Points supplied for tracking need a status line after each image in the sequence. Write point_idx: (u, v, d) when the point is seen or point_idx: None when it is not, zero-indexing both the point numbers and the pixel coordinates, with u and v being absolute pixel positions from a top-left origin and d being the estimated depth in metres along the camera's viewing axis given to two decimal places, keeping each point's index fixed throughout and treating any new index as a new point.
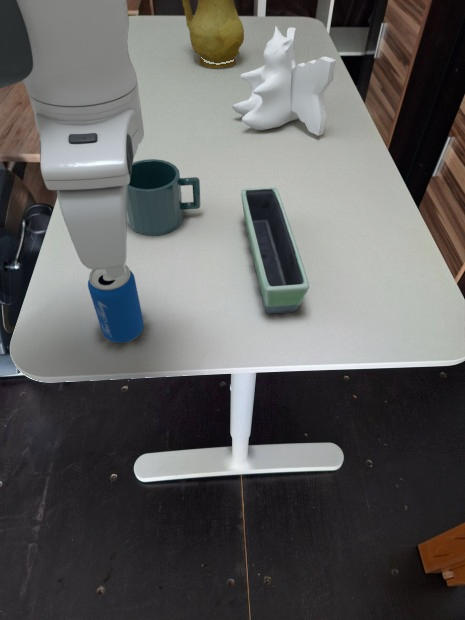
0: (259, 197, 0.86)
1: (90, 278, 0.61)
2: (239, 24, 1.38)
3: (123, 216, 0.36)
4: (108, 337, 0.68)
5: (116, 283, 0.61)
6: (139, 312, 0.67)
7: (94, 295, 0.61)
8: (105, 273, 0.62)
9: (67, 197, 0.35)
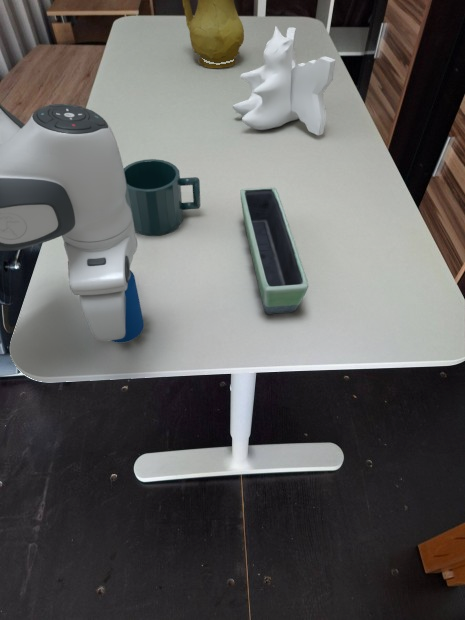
0: (258, 197, 0.86)
1: None
2: (239, 24, 1.38)
3: (123, 309, 0.54)
4: None
5: None
6: (139, 312, 0.67)
7: None
8: None
9: (86, 299, 0.53)
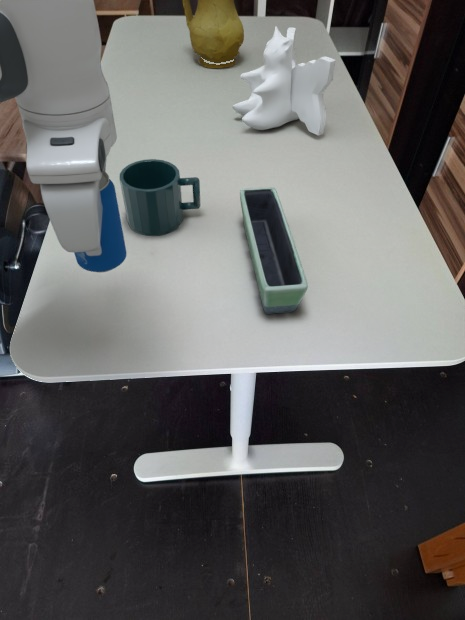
0: (258, 197, 0.86)
1: None
2: (239, 24, 1.38)
3: (96, 206, 0.43)
4: (83, 264, 0.56)
5: None
6: (120, 234, 0.56)
7: None
8: None
9: (48, 190, 0.42)
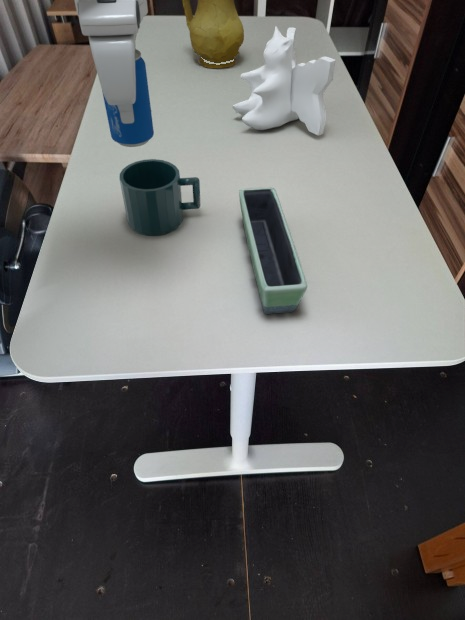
0: (257, 197, 0.86)
1: None
2: (239, 24, 1.38)
3: (133, 57, 0.52)
4: (118, 138, 0.66)
5: None
6: (149, 110, 0.65)
7: None
8: None
9: (96, 41, 0.51)
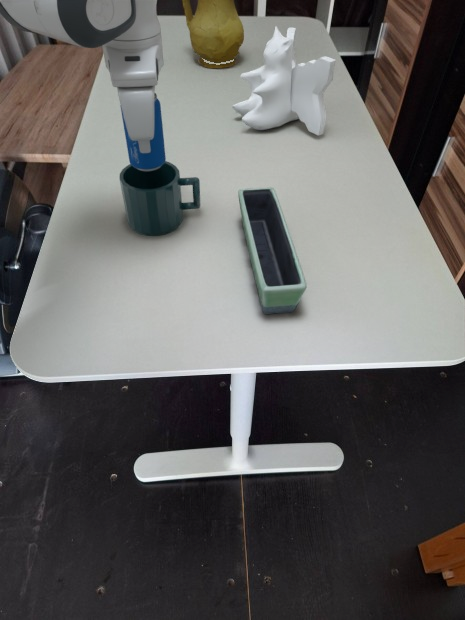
0: (256, 197, 0.86)
1: None
2: (239, 24, 1.38)
3: (153, 104, 0.64)
4: (135, 164, 0.78)
5: None
6: (163, 141, 0.77)
7: None
8: None
9: (123, 91, 0.63)
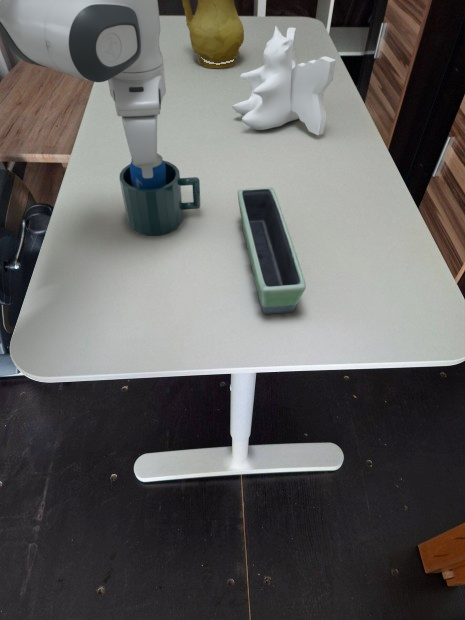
0: (256, 197, 0.86)
1: (132, 160, 0.81)
2: (239, 24, 1.38)
3: (156, 132, 0.68)
4: None
5: None
6: None
7: (133, 173, 0.80)
8: None
9: (127, 120, 0.66)
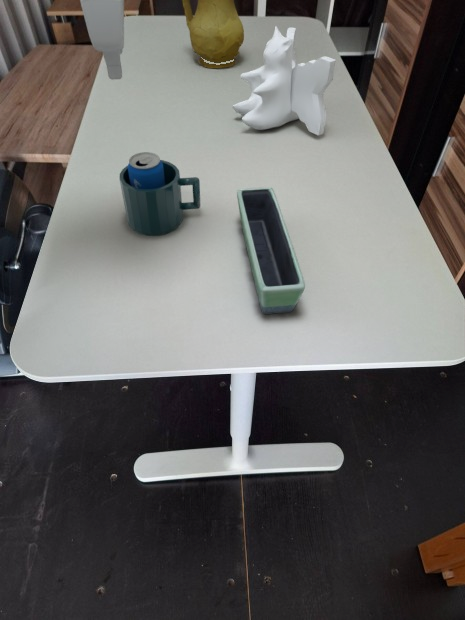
0: (255, 197, 0.86)
1: (130, 161, 0.81)
2: (239, 24, 1.38)
3: None
4: None
5: (148, 166, 0.80)
6: None
7: (131, 173, 0.81)
8: (141, 159, 0.82)
9: None
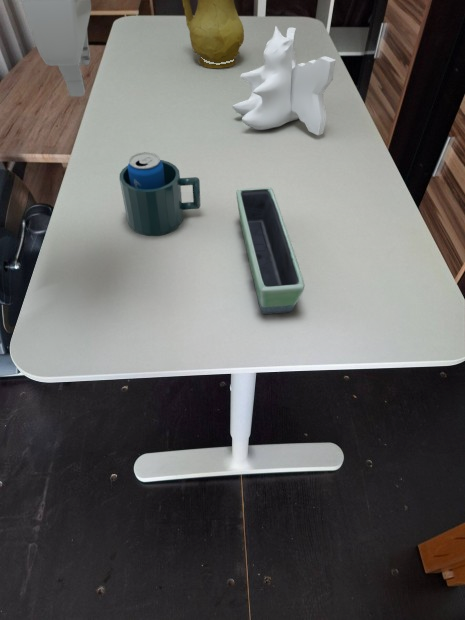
0: (254, 197, 0.86)
1: (130, 161, 0.81)
2: (239, 24, 1.38)
3: (73, 1, 0.41)
4: None
5: (148, 166, 0.80)
6: None
7: (131, 173, 0.81)
8: (141, 159, 0.82)
9: None
